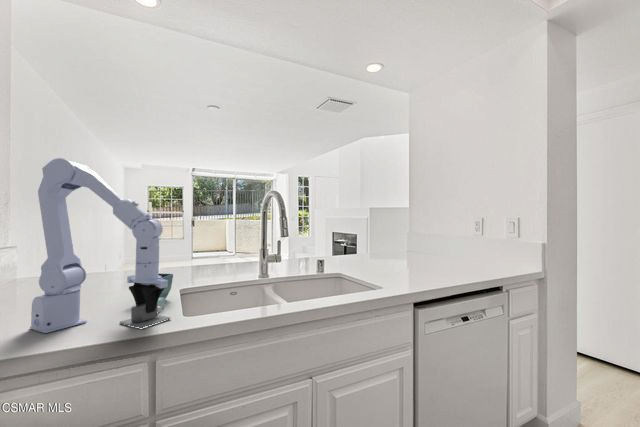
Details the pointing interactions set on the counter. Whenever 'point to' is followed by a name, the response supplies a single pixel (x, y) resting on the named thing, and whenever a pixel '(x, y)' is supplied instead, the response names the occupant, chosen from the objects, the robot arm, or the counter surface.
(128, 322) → the coaster
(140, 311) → the white-capped grey post
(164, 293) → the flower pot
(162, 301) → the teal plug
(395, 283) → the counter surface
